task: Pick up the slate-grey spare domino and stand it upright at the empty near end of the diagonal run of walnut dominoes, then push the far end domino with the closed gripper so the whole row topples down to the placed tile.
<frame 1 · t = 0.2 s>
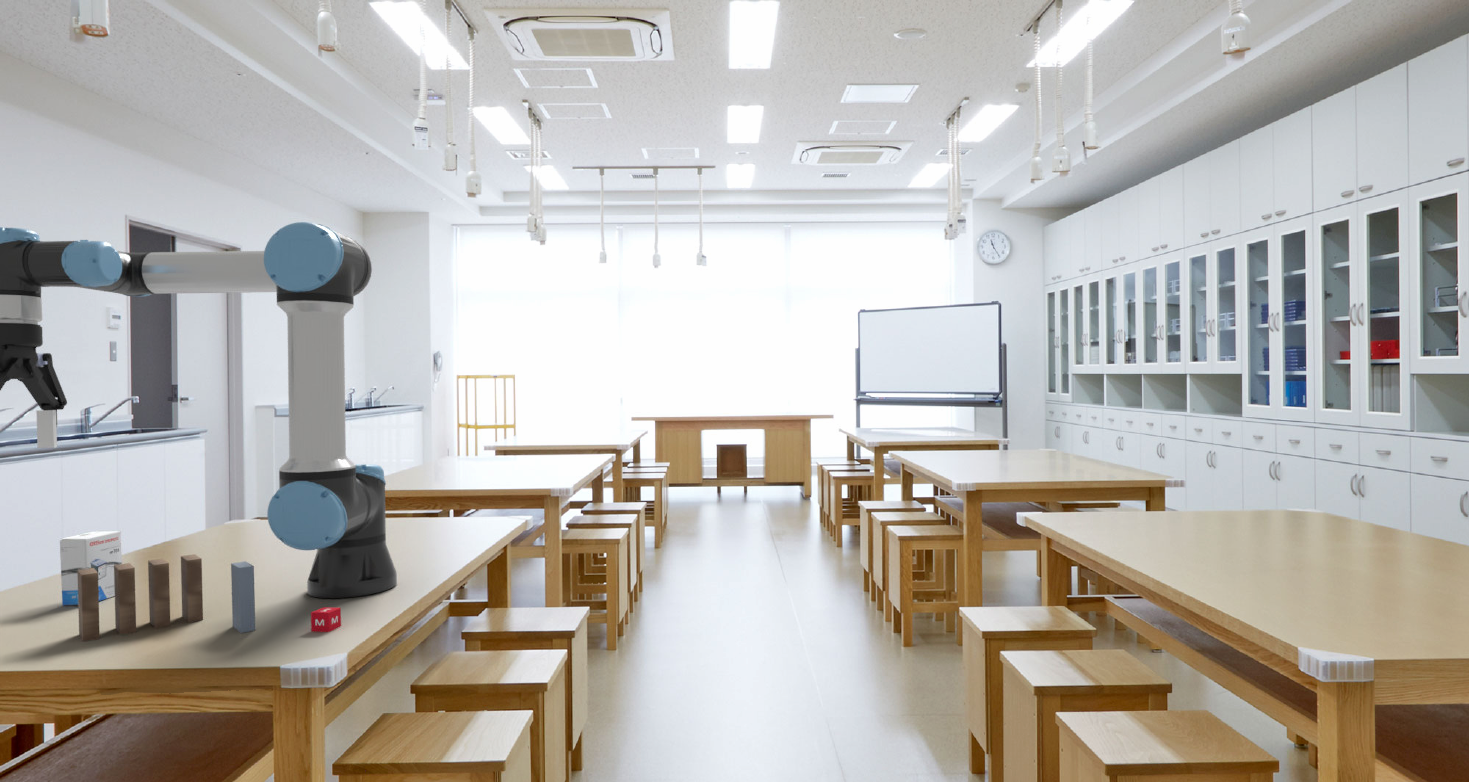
hand: (16, 451, 139), 28 cm above the table, fingers open, 13 cm apart
domino b: (125, 629, 131), on the table
ink box: (93, 600, 151), on the table
red letter cube: (326, 630, 130), on the table
end domino: (89, 636, 128), on the table
domino d: (192, 618, 137), on the table
domino c: (159, 623, 134), on the table
spare domino: (244, 628, 131), on the table
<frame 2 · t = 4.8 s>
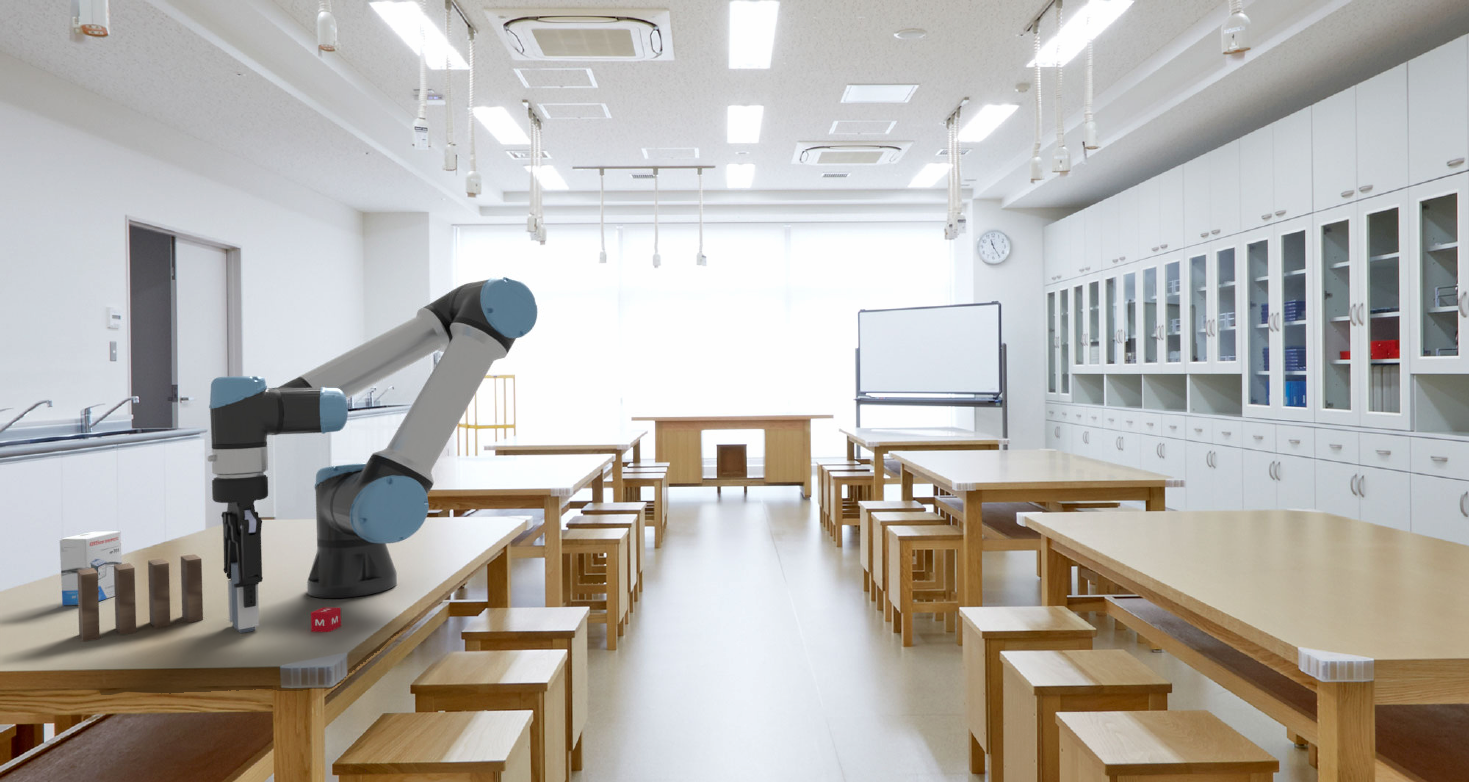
hand: (243, 623, 131), 1 cm above the table, fingers closed on spare domino, 5 cm apart
spare domino: (243, 628, 131), on the table, touching gripper
everything else where it was.
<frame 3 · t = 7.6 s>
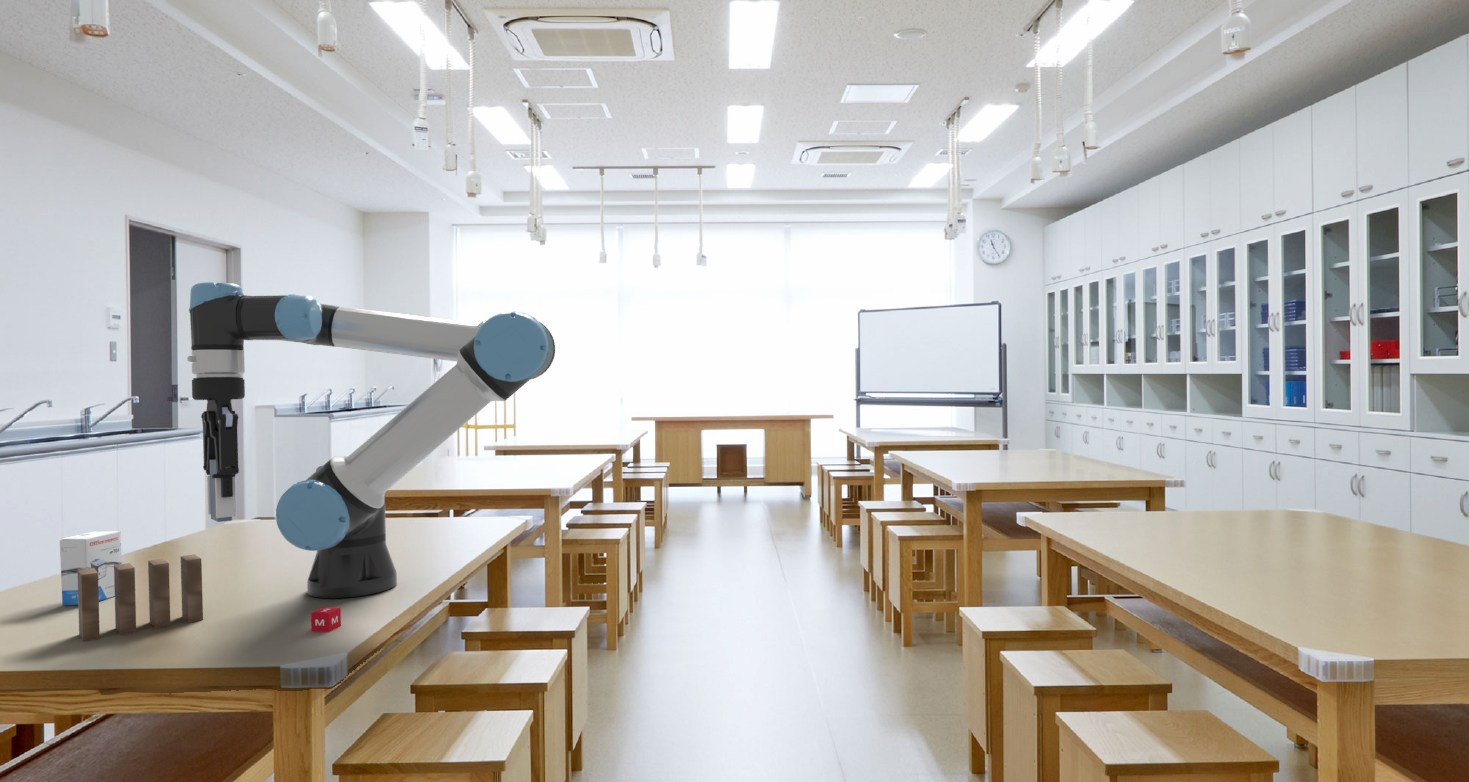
hand: (221, 514, 140), 16 cm above the table, fingers closed on spare domino, 5 cm apart
spare domino: (221, 519, 140), point 16 cm above the table, touching gripper
everything else where it was.
when the fingers open (2 cm above the table, at t = 10.5 s): spare domino stays where it is, on the table.
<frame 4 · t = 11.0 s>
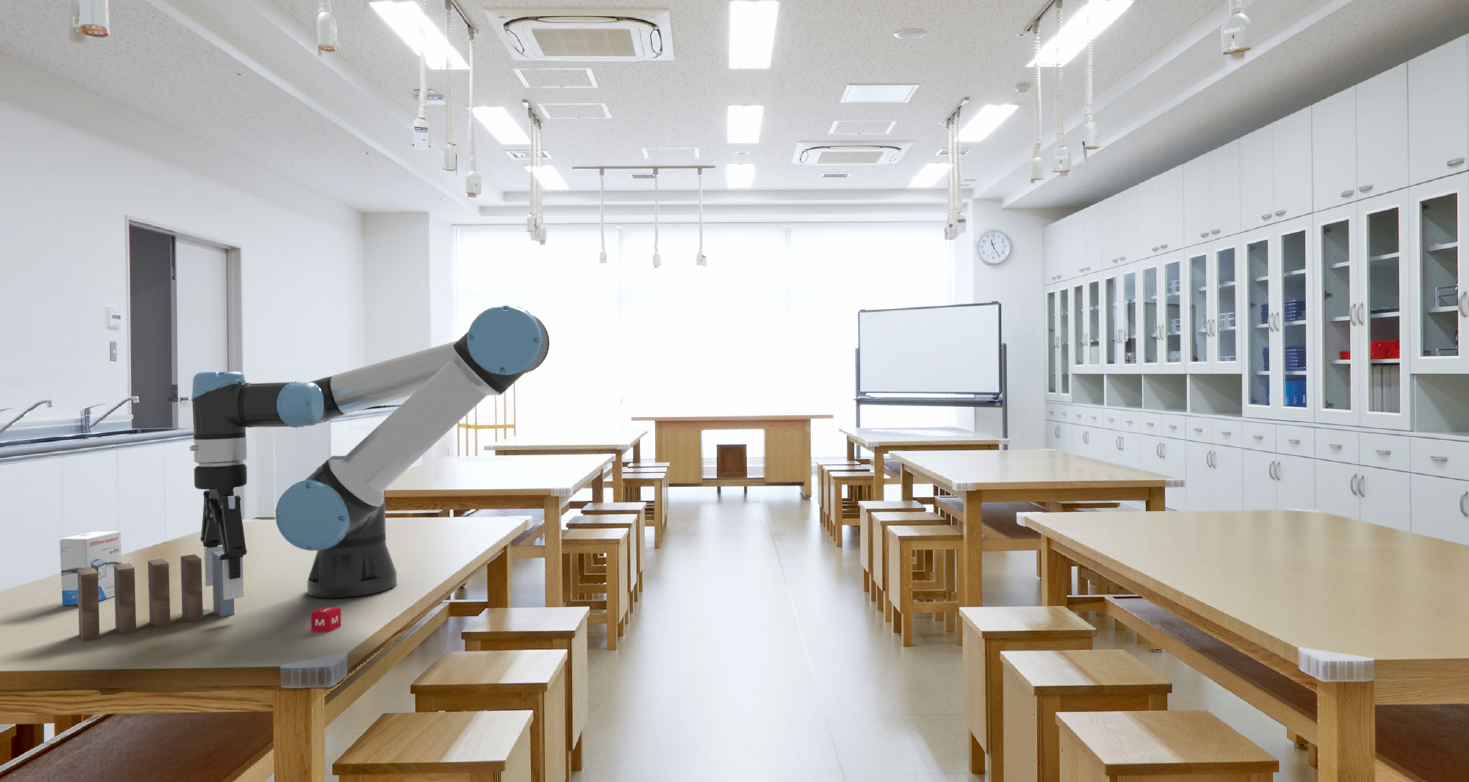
hand: (223, 591, 140), 4 cm above the table, fingers open, 12 cm apart
spare domino: (223, 612, 140), on the table
everything else where it was.
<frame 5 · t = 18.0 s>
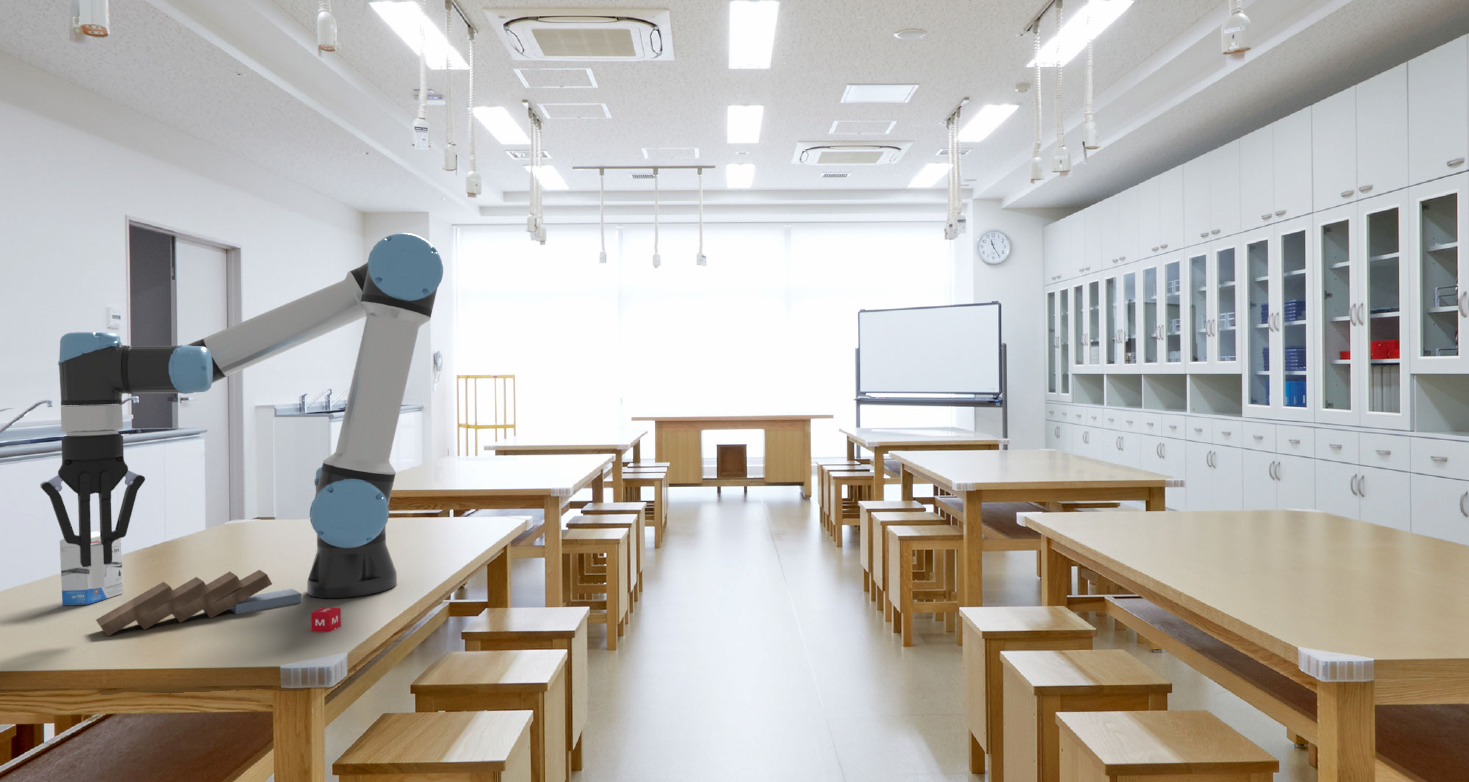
hand: (97, 586, 129), 7 cm above the table, fingers closed
domino b: (137, 621, 132), point 1 cm above the table, tilted 64°, touching domino c, end domino
end domino: (101, 627, 129), point 1 cm above the table, tilted 64°, touching domino b
domino d: (204, 610, 138), point 1 cm above the table, tilted 66°, touching domino c, spare domino
domino c: (173, 614, 135), point 1 cm above the table, tilted 64°, touching domino b, domino d
spare domino: (232, 607, 141), point 1 cm above the table, tilted 90°, touching domino d
everything else where it was.
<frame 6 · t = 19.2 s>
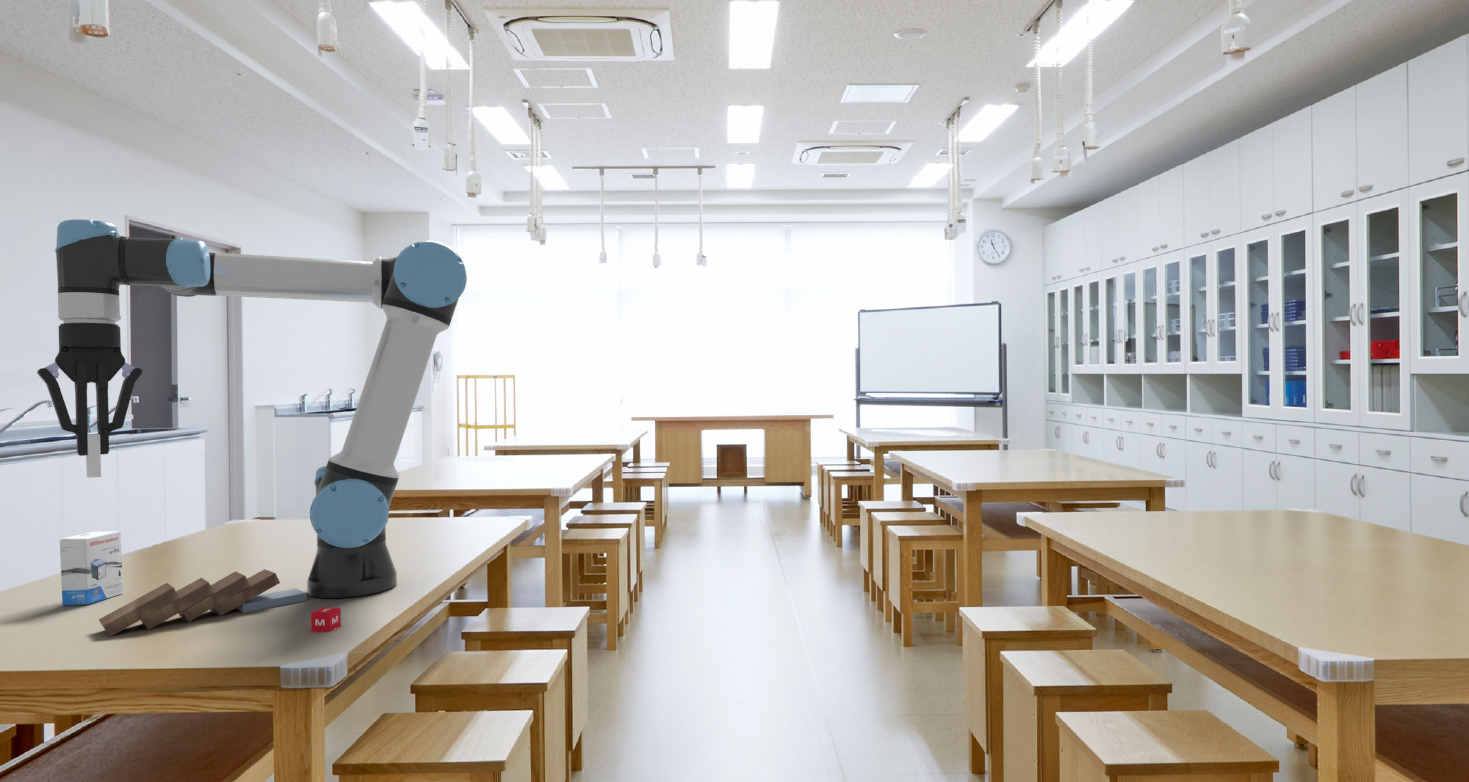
hand: (93, 476, 128), 24 cm above the table, fingers closed
domino d: (212, 608, 139), point 1 cm above the table, tilted 68°, touching domino c, spare domino
domino c: (181, 613, 136), point 1 cm above the table, tilted 65°, touching domino b, domino d
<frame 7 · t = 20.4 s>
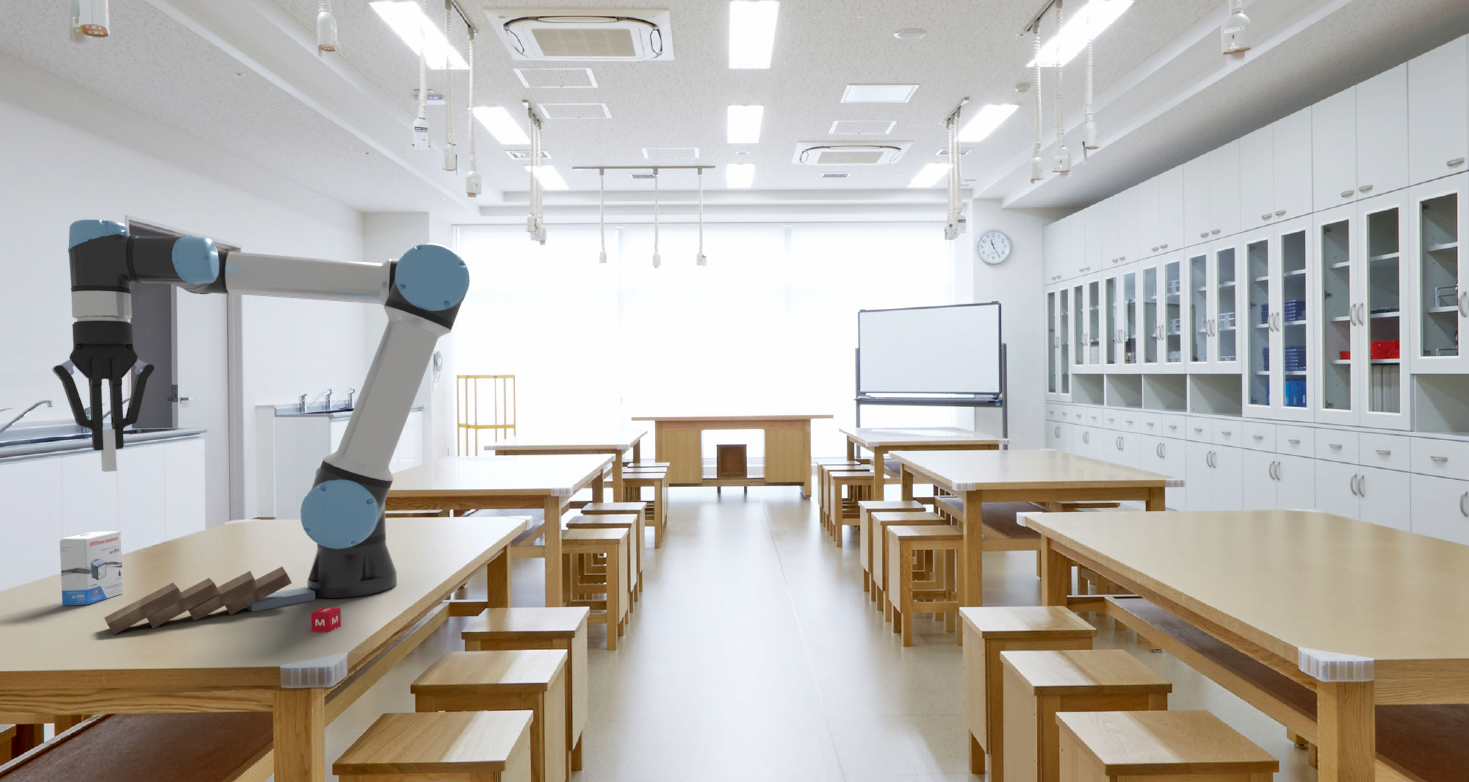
hand: (109, 470, 131), 25 cm above the table, fingers closed
domino b: (148, 619, 133), point 1 cm above the table, tilted 67°, touching end domino
domino d: (225, 606, 140), point 1 cm above the table, tilted 66°
domino c: (190, 611, 137), point 1 cm above the table, tilted 67°
spare domino: (247, 606, 142), on the table, tilted 90°
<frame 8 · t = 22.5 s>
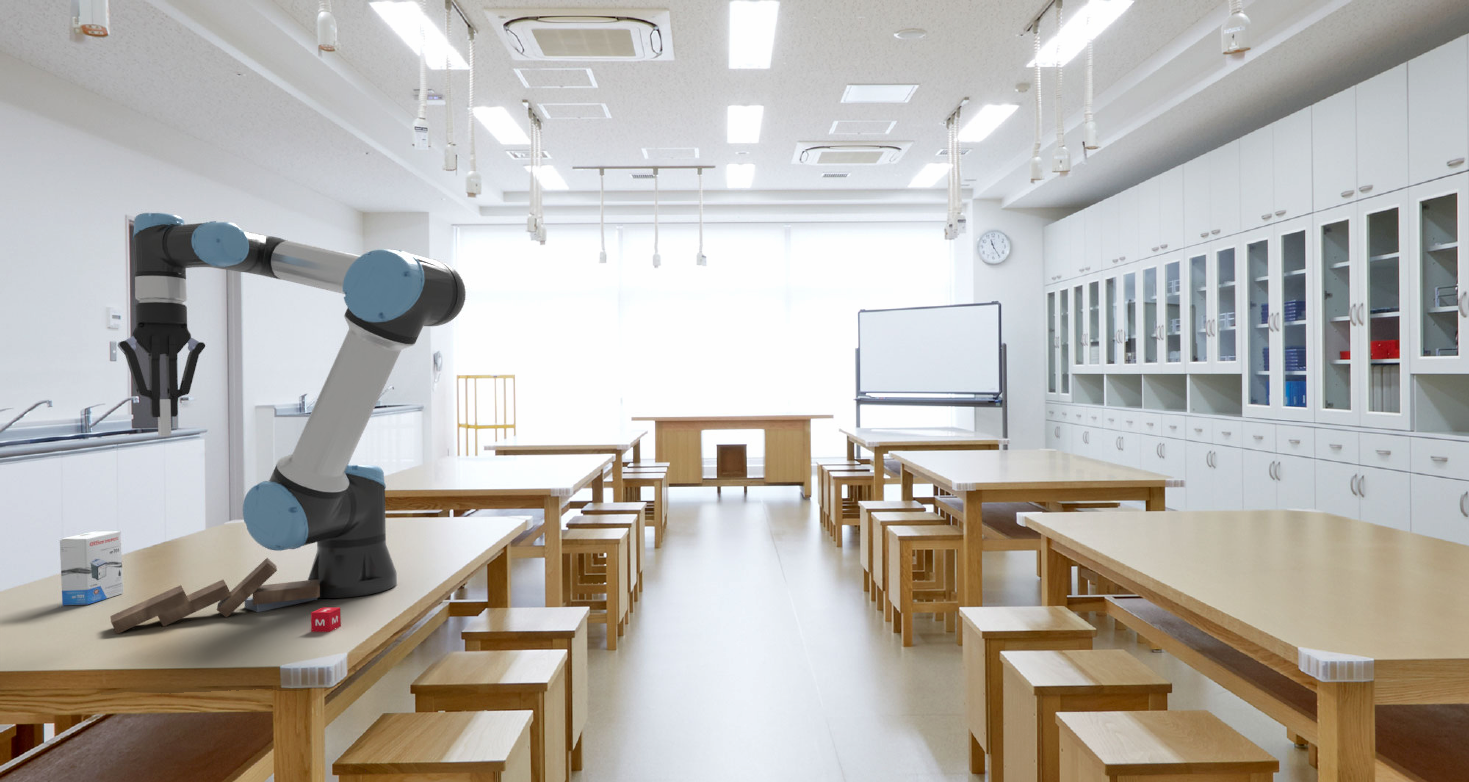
hand: (164, 435, 148), 29 cm above the table, fingers closed
domino b: (159, 617, 134), point 1 cm above the table, tilted 70°, touching end domino
domino d: (253, 595, 141), point 3 cm above the table, tilted 91°, touching arm, domino c, spare domino
domino c: (222, 610, 139), point 1 cm above the table, tilted 47°, touching domino d
spare domino: (250, 606, 142), on the table, tilted 90°, touching domino d
at the end: spare domino tilted 90°; spare domino inside the target area (3.9 cm from its centre), on the table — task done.
